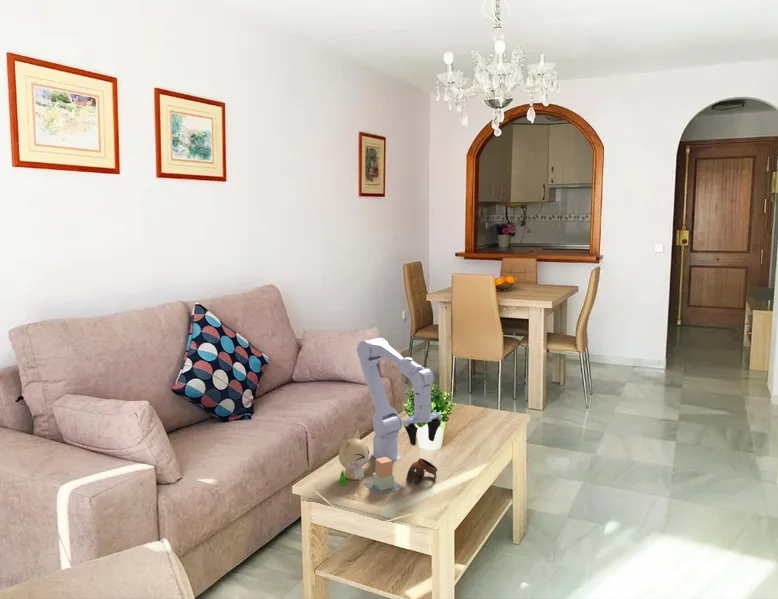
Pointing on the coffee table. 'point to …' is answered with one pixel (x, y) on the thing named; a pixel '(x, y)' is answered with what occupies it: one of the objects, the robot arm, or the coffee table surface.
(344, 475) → the kitten
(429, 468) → the brown ring with handle
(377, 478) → the brick
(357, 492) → the coffee table surface
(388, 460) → the brick
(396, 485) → the plate
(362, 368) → the robot arm
